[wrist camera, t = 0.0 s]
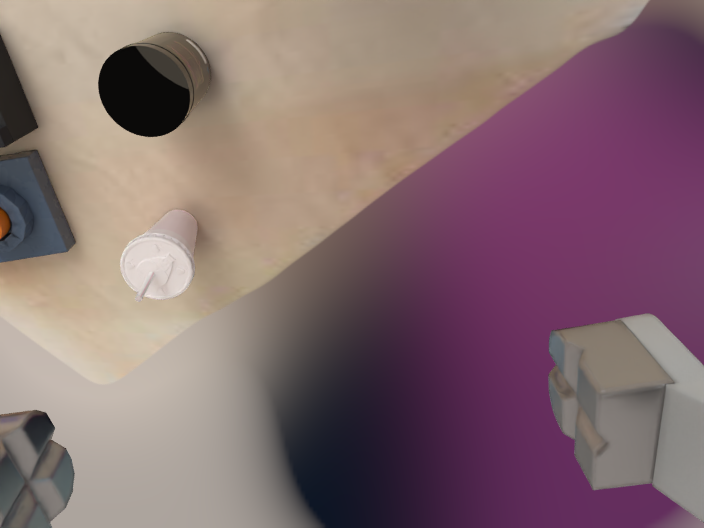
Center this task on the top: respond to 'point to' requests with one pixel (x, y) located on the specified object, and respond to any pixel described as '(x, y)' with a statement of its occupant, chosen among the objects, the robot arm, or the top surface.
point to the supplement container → (154, 83)
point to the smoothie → (162, 257)
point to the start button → (4, 223)
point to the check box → (30, 210)
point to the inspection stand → (12, 103)
